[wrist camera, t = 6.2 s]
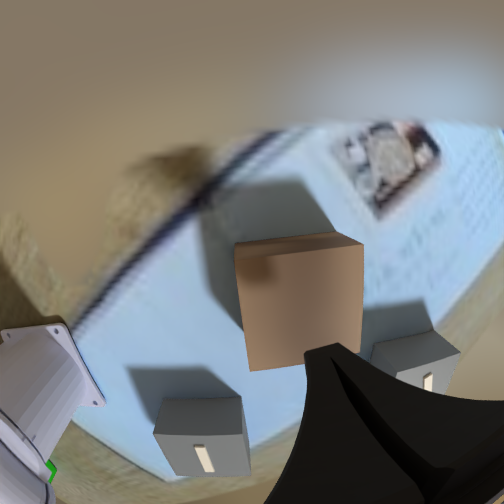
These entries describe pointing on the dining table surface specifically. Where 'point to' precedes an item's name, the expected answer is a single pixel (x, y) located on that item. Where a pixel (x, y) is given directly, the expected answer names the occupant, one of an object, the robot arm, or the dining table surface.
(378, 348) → the slate block
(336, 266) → the walnut block
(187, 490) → the dining table surface
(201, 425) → the slate block
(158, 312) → the dining table surface
